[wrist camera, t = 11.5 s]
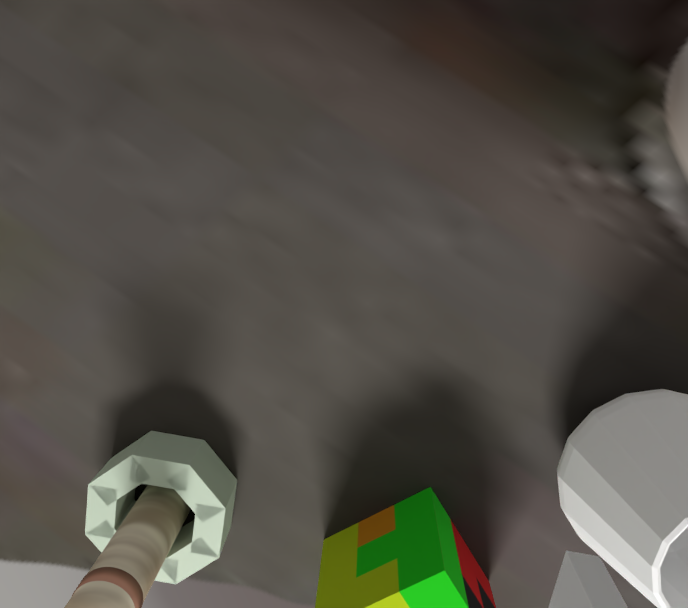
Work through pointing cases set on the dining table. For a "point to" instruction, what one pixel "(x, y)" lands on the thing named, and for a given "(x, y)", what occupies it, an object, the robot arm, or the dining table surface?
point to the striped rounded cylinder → (134, 553)
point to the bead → (175, 473)
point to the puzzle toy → (402, 562)
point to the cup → (633, 490)
